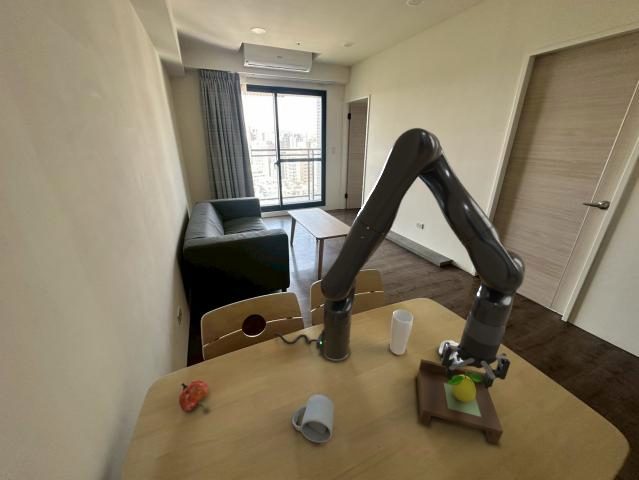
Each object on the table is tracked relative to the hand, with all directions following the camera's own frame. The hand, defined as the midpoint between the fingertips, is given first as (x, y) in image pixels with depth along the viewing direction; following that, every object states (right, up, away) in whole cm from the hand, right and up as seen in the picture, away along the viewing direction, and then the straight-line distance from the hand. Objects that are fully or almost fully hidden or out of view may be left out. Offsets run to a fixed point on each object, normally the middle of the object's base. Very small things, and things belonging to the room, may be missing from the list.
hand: (466, 381), depth 65 cm
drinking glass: (-10, -3, +25) cm, 27 cm away
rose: (+9, -4, +22) cm, 24 cm away
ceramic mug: (-40, -12, 0) cm, 42 cm away
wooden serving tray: (-1, -10, +6) cm, 12 cm away
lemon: (0, -6, +2) cm, 7 cm away
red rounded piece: (-73, -10, +5) cm, 73 cm away
